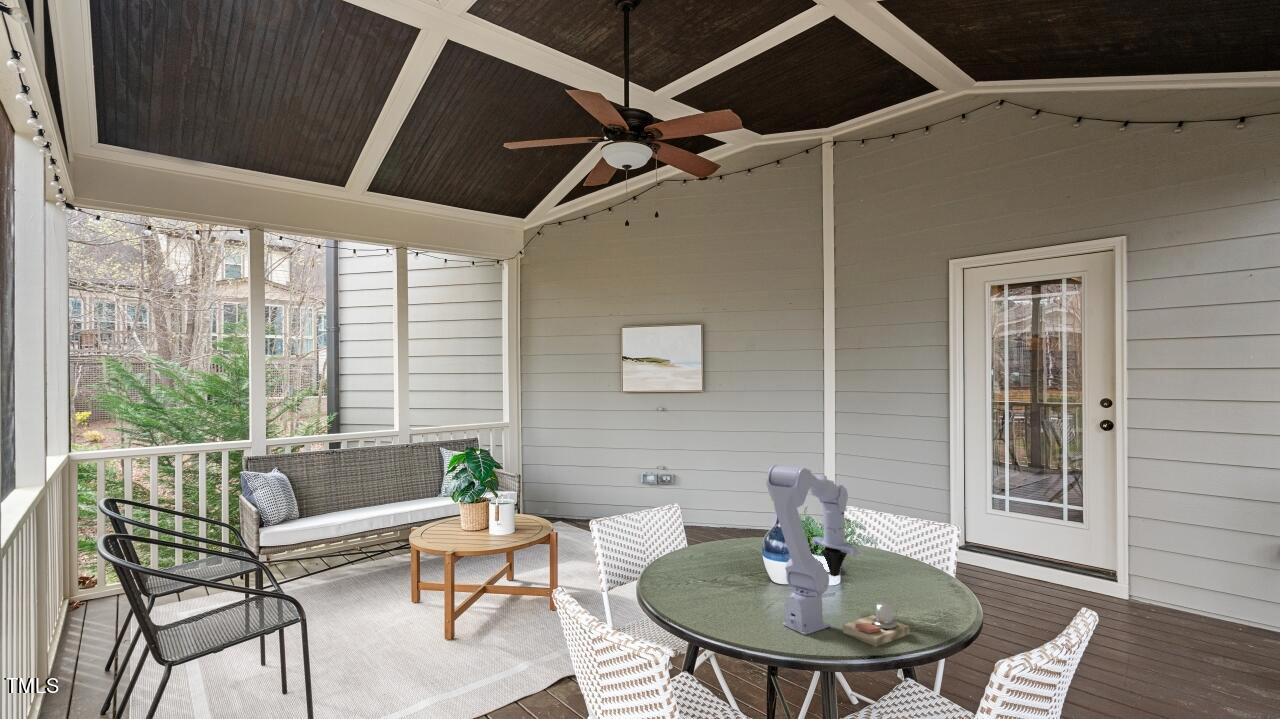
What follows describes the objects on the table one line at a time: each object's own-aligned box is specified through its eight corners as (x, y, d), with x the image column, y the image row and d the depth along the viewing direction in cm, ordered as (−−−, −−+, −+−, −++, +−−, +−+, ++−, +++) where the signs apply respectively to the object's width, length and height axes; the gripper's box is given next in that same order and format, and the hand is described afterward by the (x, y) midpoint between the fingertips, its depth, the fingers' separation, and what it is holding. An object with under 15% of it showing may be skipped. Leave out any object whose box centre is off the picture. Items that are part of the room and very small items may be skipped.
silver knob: (887, 638, 157) (886, 610, 157) (867, 630, 162) (867, 603, 162) (902, 633, 160) (901, 605, 160) (882, 625, 165) (881, 598, 165)
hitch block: (875, 646, 153) (875, 638, 153) (843, 632, 162) (842, 624, 162) (909, 634, 160) (909, 626, 160) (876, 621, 169) (876, 613, 169)
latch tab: (868, 633, 155) (868, 629, 155) (855, 627, 158) (855, 624, 158) (880, 631, 157) (880, 627, 157) (867, 625, 161) (867, 622, 161)
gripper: (864, 530, 174) (865, 579, 174) (823, 519, 186) (824, 566, 186) (847, 533, 170) (848, 584, 170) (806, 523, 183) (807, 570, 183)
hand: (834, 575), depth 178 cm, fingers closed
